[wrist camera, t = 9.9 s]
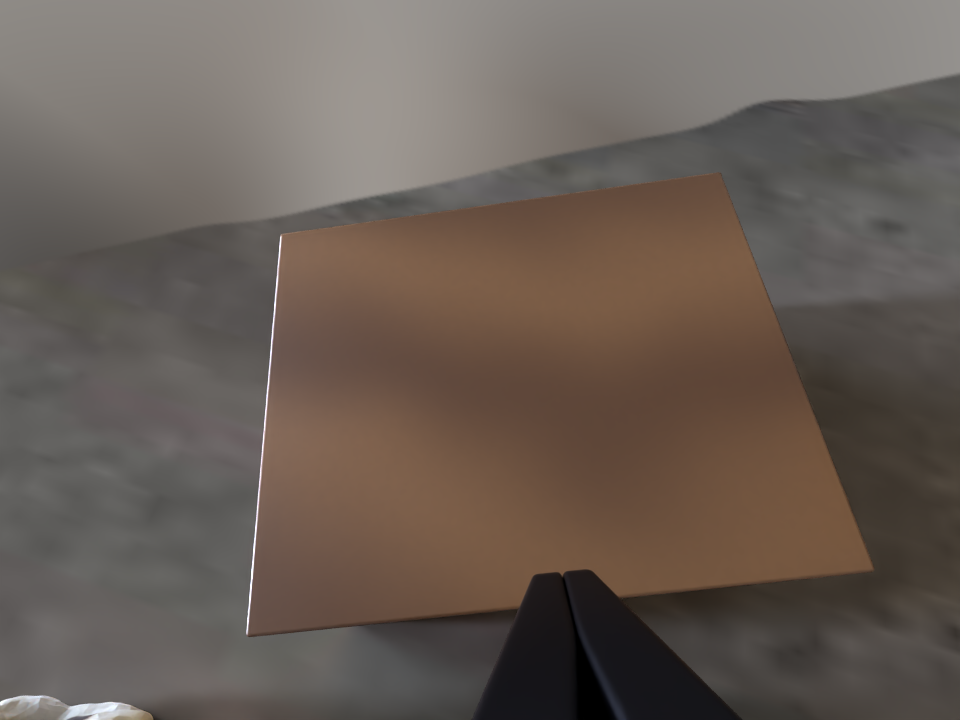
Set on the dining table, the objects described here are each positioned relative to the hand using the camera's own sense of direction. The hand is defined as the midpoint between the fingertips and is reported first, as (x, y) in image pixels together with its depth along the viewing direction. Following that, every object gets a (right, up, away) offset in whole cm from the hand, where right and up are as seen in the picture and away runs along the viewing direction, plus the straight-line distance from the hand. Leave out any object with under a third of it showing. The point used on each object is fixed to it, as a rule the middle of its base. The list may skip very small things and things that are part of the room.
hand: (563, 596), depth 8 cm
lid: (0, +3, +7) cm, 7 cm away
